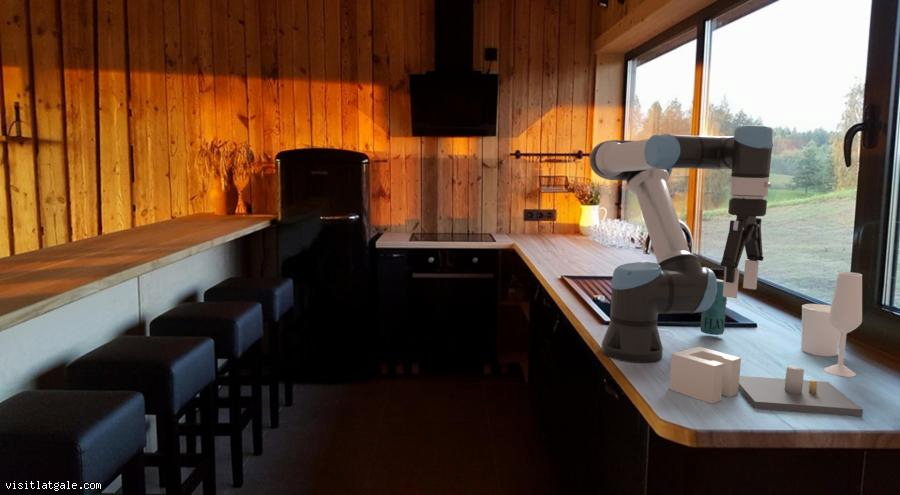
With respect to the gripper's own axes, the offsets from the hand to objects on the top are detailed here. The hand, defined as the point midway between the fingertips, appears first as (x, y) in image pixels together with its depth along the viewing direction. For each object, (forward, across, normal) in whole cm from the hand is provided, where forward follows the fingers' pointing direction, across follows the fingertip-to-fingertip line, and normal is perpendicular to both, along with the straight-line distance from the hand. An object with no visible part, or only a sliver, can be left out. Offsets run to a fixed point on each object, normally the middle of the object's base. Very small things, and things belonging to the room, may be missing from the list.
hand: (740, 292), depth 140 cm
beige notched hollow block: (+20, -12, +2) cm, 24 cm away
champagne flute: (+21, +26, -16) cm, 37 cm away
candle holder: (+21, +41, -9) cm, 47 cm away
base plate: (+20, -2, -13) cm, 24 cm away
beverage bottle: (+21, +35, +17) cm, 44 cm away
